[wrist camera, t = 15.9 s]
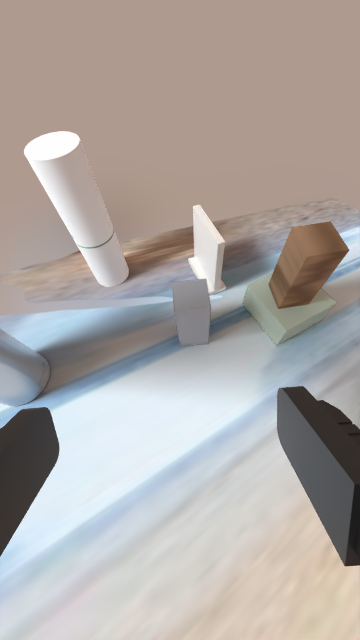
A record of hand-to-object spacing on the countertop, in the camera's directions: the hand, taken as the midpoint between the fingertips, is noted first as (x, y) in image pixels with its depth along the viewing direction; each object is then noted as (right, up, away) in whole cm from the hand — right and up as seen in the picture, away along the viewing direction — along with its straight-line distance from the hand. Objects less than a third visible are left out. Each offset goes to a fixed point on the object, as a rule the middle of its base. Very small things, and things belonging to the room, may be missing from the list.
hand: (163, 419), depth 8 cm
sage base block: (+19, +5, +37) cm, 42 cm away
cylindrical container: (-14, +13, +44) cm, 48 cm away
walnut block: (+18, +8, +32) cm, 37 cm away
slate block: (+3, +1, +36) cm, 36 cm away
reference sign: (+6, +13, +42) cm, 44 cm away
